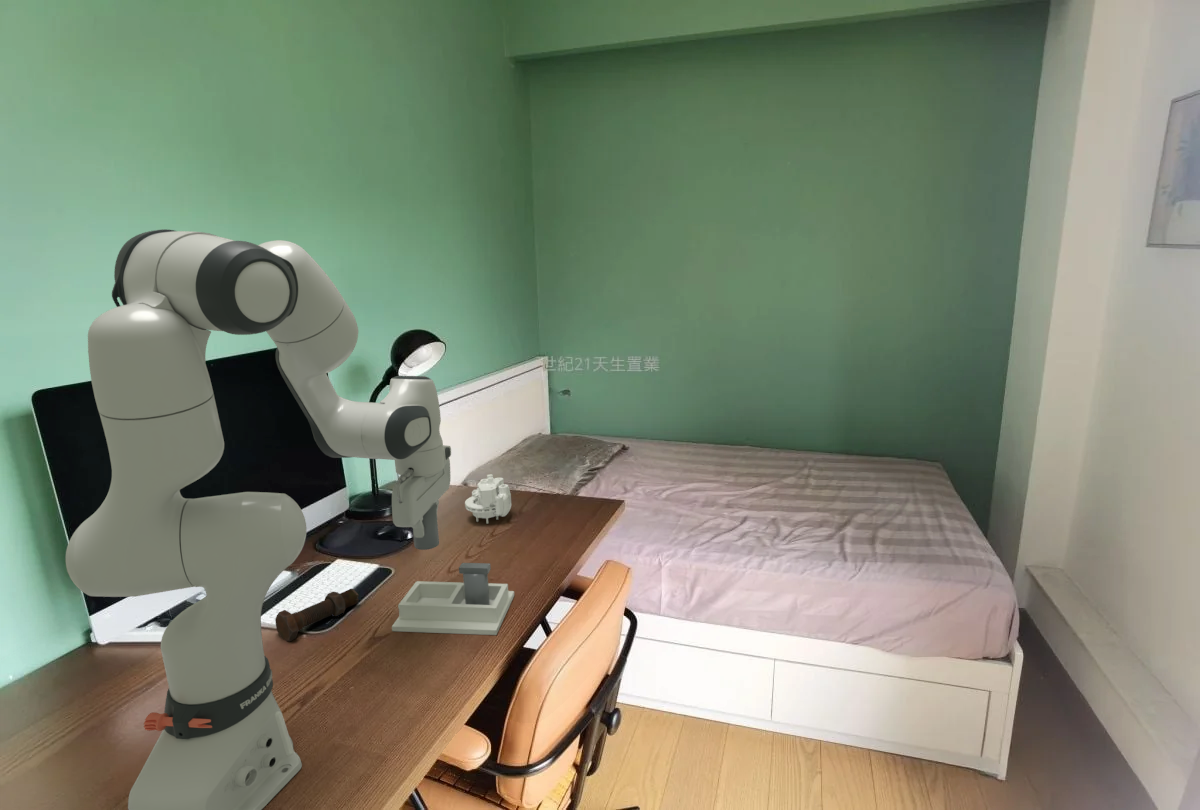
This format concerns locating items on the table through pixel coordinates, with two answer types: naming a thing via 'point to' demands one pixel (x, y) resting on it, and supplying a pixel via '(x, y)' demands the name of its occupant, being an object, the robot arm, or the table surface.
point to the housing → (456, 604)
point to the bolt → (314, 613)
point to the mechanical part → (490, 499)
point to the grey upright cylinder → (428, 531)
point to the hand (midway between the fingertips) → (426, 529)
